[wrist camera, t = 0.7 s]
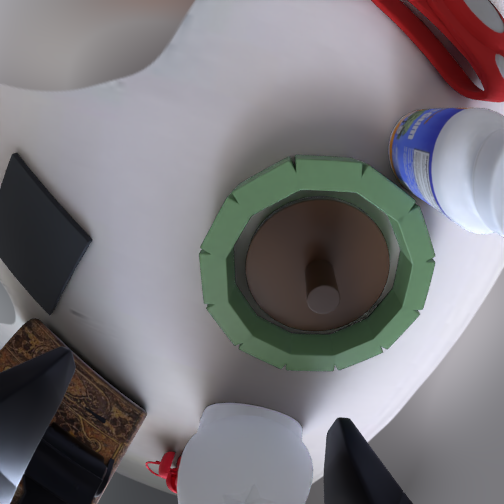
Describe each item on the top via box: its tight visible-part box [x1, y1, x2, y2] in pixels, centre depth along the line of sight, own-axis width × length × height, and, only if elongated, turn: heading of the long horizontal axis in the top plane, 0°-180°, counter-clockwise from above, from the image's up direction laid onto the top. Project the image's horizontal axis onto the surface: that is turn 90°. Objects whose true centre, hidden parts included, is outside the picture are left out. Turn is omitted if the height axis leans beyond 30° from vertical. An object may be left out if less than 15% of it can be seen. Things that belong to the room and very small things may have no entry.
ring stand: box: [245, 197, 390, 331], centre depth 17 cm, size 9×9×4 cm
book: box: [0, 318, 147, 504], centre depth 17 cm, size 16×6×25 cm, turn 44°
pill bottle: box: [388, 108, 504, 237], centre depth 11 cm, size 5×5×10 cm
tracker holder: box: [371, 0, 504, 102], centre depth 10 cm, size 12×4×10 cm
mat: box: [0, 153, 92, 315], centre depth 21 cm, size 11×11×1 cm
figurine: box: [177, 403, 313, 504], centre depth 19 cm, size 11×11×15 cm
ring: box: [199, 155, 435, 371], centre depth 18 cm, size 14×14×2 cm
